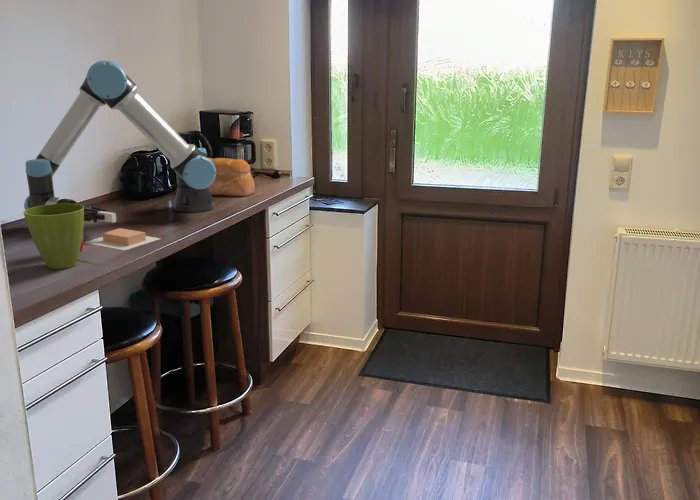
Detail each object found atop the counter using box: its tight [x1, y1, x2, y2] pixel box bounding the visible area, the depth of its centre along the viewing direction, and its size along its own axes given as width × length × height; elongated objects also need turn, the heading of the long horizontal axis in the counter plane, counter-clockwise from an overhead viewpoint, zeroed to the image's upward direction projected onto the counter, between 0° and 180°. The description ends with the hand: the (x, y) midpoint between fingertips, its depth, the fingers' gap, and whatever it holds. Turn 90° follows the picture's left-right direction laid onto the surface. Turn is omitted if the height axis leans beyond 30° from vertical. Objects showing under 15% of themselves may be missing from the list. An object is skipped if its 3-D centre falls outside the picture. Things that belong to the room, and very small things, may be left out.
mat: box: [83, 235, 162, 251], centre depth 201 cm, size 15×18×1 cm
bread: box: [207, 157, 256, 197], centre depth 274 cm, size 14×26×15 cm, turn 76°
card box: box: [102, 228, 147, 246], centre depth 200 cm, size 7×3×11 cm
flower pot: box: [23, 203, 85, 270], centre depth 175 cm, size 15×15×16 cm
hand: (114, 218), depth 200 cm, fingers closed
